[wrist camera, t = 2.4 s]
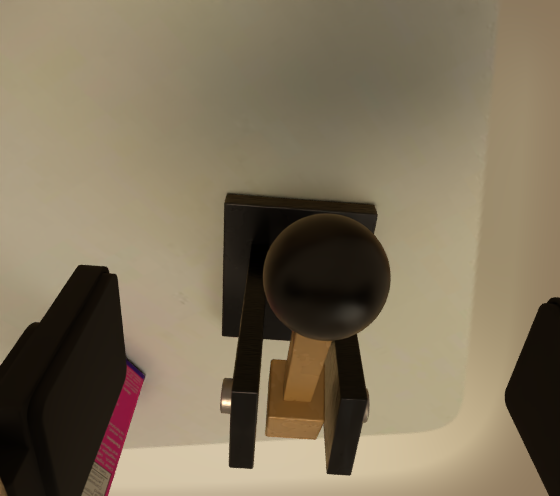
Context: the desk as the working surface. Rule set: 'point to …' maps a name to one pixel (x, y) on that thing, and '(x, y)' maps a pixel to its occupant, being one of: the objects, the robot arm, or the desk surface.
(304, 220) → the switch lever
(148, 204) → the desk surface
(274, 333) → the switch bracket
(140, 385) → the supplement box
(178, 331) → the desk surface
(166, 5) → the desk surface
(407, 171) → the desk surface
